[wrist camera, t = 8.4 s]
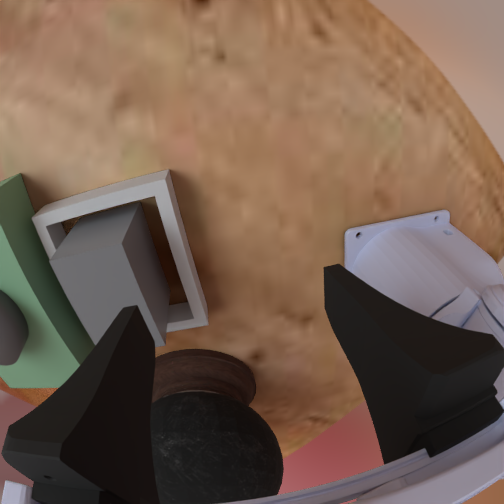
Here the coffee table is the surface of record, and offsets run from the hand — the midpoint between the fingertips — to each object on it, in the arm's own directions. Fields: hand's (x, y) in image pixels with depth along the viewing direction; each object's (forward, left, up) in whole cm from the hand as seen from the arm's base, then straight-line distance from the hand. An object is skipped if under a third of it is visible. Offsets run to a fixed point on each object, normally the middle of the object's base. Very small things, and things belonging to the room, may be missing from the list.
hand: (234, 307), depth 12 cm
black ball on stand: (+6, +17, -10) cm, 20 cm away
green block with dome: (+13, +2, -9) cm, 16 cm away
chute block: (+7, +2, -10) cm, 12 cm away
